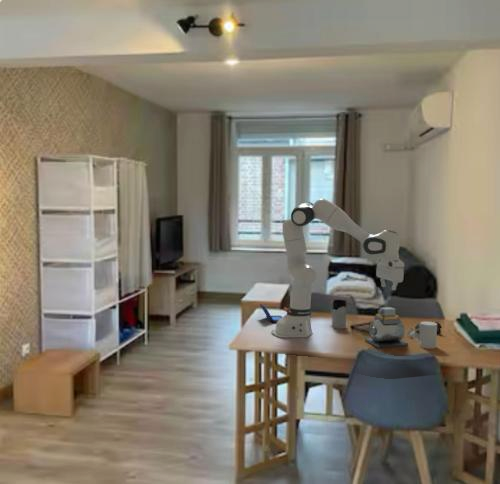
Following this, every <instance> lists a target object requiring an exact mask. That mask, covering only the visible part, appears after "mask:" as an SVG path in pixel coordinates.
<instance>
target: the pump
mask: <svg viewBox="0 0 500 484" xmlns="http://www.w3.org/2000/svg"><path fill="white" fill-rule="evenodd" d="M377 312H378V313H377V314H380V315H381V316H384V317H388V316H395V315H396V308H395V307H394V308H393V307H392V306H390V307H389V306H387V307H385V306H384V307H380V309H378V311H377Z"/></svg>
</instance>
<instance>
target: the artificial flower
mask: <svg viewBox="0 0 500 484" xmlns="http://www.w3.org/2000/svg"><path fill="white" fill-rule="evenodd" d="M434 323H437V334H438V333H440V334H441V333H442V328H443V327H442V325H441V323H439V322H437V321H435V322H434ZM406 333H407V335H408V336H410V337H411V339H413V340H420V323H415V326H414V328H411V327H410V328H409V329H407V332H406Z"/></svg>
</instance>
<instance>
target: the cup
mask: <svg viewBox="0 0 500 484" xmlns="http://www.w3.org/2000/svg"><path fill="white" fill-rule="evenodd" d="M419 324H420V339H419V345H418V346H419V347H420V348H424V349H426V350H427V349H429V350H432V349H433V348H434V349H436V348H437V335H438V333H437V323H435V322H433V321H420V323H419ZM434 349H433V350H434Z"/></svg>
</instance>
